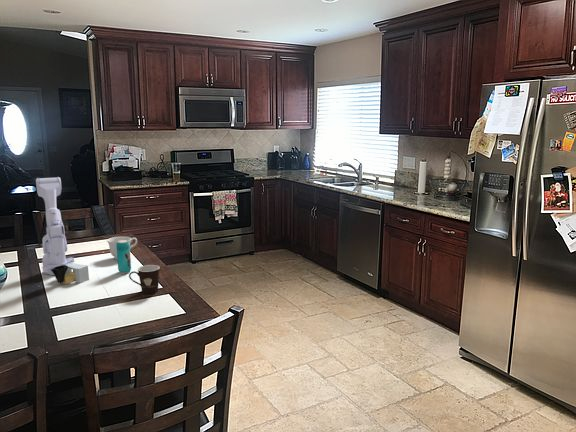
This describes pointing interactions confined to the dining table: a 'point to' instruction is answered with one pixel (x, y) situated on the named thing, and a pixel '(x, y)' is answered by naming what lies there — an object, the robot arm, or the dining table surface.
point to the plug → (69, 277)
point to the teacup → (113, 243)
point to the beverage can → (123, 256)
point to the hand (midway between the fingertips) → (60, 282)
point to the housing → (78, 272)
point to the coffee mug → (148, 278)
